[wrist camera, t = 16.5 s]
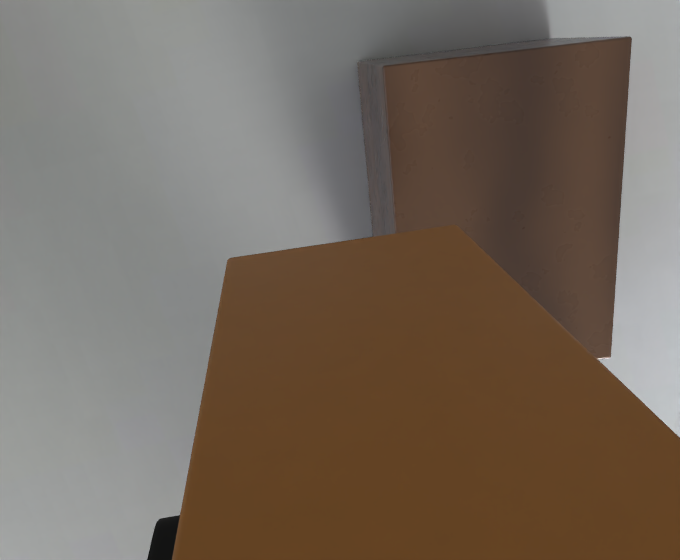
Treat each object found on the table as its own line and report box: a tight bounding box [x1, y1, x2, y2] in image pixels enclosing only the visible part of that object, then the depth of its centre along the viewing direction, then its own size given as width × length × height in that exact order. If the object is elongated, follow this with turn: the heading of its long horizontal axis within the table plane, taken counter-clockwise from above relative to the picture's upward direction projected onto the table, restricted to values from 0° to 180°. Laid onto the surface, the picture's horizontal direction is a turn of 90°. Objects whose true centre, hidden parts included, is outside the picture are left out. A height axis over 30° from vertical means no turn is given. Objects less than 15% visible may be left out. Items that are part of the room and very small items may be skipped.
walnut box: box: [357, 37, 632, 360], centre depth 27 cm, size 9×13×6 cm
